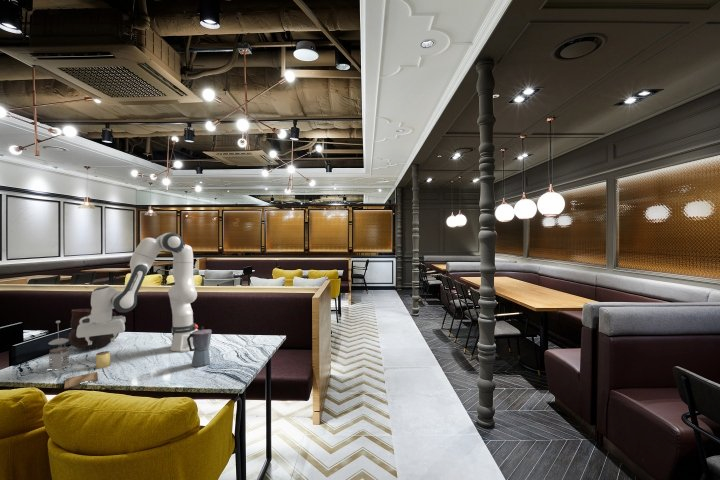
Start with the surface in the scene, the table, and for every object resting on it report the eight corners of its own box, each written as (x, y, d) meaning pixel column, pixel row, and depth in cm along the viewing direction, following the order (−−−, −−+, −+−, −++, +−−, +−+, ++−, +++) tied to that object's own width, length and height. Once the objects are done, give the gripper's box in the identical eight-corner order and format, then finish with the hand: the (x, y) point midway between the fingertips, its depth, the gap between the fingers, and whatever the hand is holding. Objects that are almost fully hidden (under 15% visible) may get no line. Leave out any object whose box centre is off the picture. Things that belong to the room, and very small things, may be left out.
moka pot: (218, 360, 180) (217, 324, 180) (196, 371, 166) (195, 332, 165) (204, 358, 183) (204, 322, 183) (181, 368, 169) (180, 330, 168)
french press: (43, 372, 166) (41, 323, 166) (51, 364, 176) (50, 318, 176) (68, 368, 171) (67, 321, 170) (75, 361, 181) (74, 316, 181)
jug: (124, 345, 206) (123, 306, 205) (71, 357, 187) (70, 314, 186) (114, 337, 222) (113, 301, 222) (65, 347, 203) (64, 308, 203)
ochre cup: (111, 363, 177) (110, 350, 177) (109, 367, 172) (109, 353, 172) (97, 365, 174) (96, 352, 174) (94, 369, 169) (94, 355, 169)
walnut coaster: (97, 372, 165) (97, 371, 165) (98, 380, 156) (98, 379, 156) (65, 379, 157) (65, 378, 157) (64, 388, 148) (64, 387, 148)
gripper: (126, 313, 181) (126, 338, 181) (78, 318, 170) (78, 344, 170) (124, 316, 175) (124, 341, 175) (75, 320, 165) (75, 348, 165)
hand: (101, 343), depth 173 cm, fingers open, 8 cm apart
